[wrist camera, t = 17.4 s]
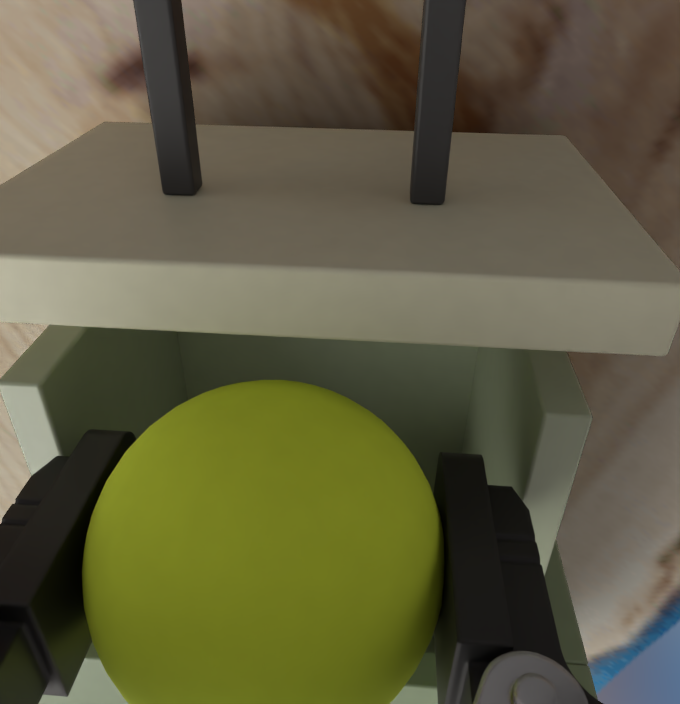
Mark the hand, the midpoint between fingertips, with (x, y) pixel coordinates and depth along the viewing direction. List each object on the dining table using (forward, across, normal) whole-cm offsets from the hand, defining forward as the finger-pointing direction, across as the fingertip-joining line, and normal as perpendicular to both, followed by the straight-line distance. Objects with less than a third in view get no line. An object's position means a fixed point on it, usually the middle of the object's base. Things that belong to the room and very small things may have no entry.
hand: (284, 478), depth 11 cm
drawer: (+8, 0, 0) cm, 8 cm away
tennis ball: (-2, 0, 0) cm, 2 cm away
